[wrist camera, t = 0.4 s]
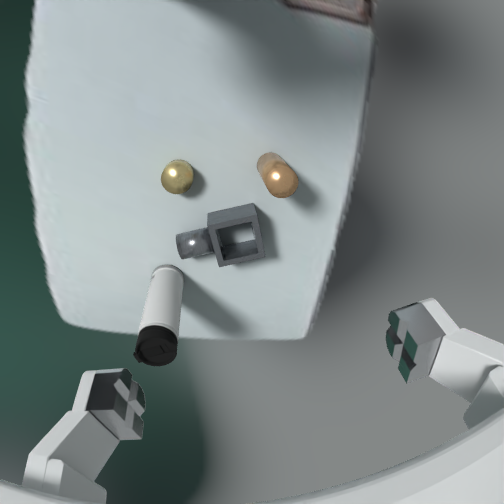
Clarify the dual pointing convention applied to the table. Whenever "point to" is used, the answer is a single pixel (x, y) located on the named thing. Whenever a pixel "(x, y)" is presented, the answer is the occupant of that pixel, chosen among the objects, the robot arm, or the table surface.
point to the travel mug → (160, 318)
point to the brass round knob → (177, 176)
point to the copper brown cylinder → (277, 175)
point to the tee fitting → (211, 242)
